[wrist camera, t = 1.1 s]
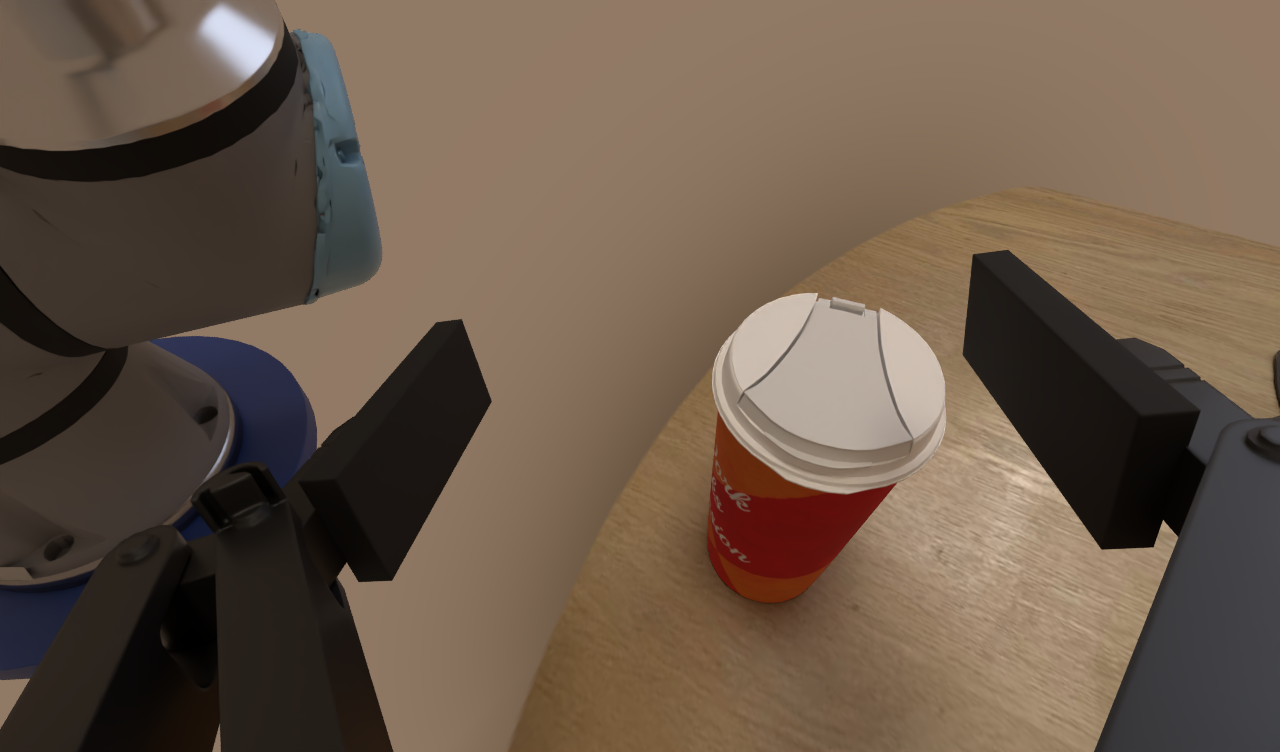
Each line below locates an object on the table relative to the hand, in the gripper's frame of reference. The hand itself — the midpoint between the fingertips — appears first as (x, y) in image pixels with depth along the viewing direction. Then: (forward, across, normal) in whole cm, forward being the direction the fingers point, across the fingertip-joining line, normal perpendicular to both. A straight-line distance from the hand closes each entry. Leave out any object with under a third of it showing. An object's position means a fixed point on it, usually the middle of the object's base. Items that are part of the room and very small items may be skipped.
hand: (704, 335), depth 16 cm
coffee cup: (+9, +1, -18) cm, 20 cm away
